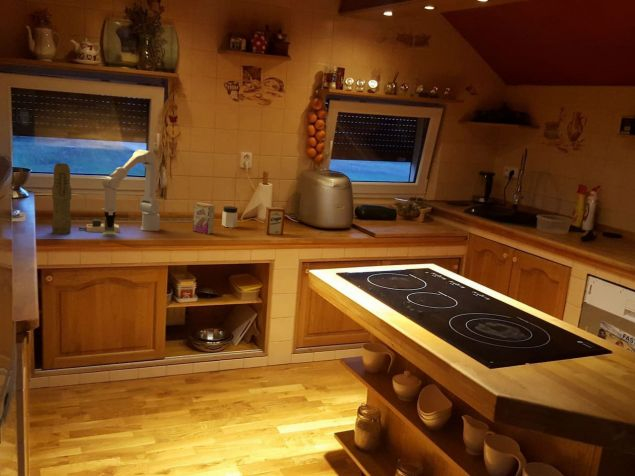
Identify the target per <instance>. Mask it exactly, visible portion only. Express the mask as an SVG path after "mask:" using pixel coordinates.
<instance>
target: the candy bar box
mask: <svg viewBox="0 0 635 476" xmlns="http://www.w3.org/2000/svg"><path fill="white" fill-rule="evenodd" d="M214 220H215V205H214V204H211V203H206V202H205V203H204V202H202V201H201V202H200V201H199V202H194V205H193V220H192V221H193V223H192V232H195V231H197V232H196V233H199V232H201V233H200V234H203V233H205V234H204V235H207V234H209V235H211V234H210V233H213V234H214V223H215V222H214Z"/></svg>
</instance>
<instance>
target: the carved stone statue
mask: <svg viewBox="0 0 635 476" xmlns="http://www.w3.org/2000/svg"><path fill="white" fill-rule="evenodd" d="M51 189H52V190H51V191H52V193H51V194H52V196H51V199H52V200H53V201H52V202H53V203H52V204H53V205H52V207H53V208H52V211H53V212H52V220H51V228H52V234H54V235H69V234H71V230H72V221H71V201H72V186H71V168H70V165H69V164H68V163H61V162H60V163H59V162H58V163H55V165H54V167H53V186H52V187H51Z"/></svg>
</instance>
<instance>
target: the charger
mask: <svg viewBox="0 0 635 476" xmlns="http://www.w3.org/2000/svg"><path fill="white" fill-rule="evenodd" d="M104 224H105V231H114V224H115V221H114V222H113V226H112V228H108V226H107V220H106V217H105V216H104Z"/></svg>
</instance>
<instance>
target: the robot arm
mask: <svg viewBox="0 0 635 476" xmlns="http://www.w3.org/2000/svg"><path fill="white" fill-rule="evenodd" d="M156 159H157V154H155V152H154V151H152V150H145V149H140V148H138V149H136V150H135V152H133V153H132V156H131V157H130V158H129V159H128V160H127V161H126V162H125V164H124V165H123V166H120V167H116V168H115V170H114V171H113V172H112V173H110V174H109V176H106V177H105V178H103V181H102V182H101V183H102V184H101V185H102V187H103V191H104V206H103V207H104V208H103V207H102V208H101V211H104V212H103V213H104V218H105V217H106V220H107V226H108V228H112V226H113V222H114V223H115V218H116V217H117V214H116V212H117V192H118V191H117V189H118V188H119V187H120V184H121V182H122V180H124V179H125V178H126V177H127V176H128V173H129V171H131V169H133V168H135V166H136V165H137V164H143V166H144V167H145V180H144V181H145V182H144V196H142V198H141V199H140V203H139V206H138V207H139V210H140V211H141V214H142V215H141V218H142V219H141V226H140V230H141V231H149V232H150V231H154V232H155V231H156V232H159V231H160V227H161V225H160V224H161V222H160V221H161V219H160V218H161V217H160V216H161V215H160V214H159V213H158V212H159V211H160V204H159V199H158V198H157V196H156V186H157V185H156V181H157V170H158V169H157V166H158V165H157V161H156Z"/></svg>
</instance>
